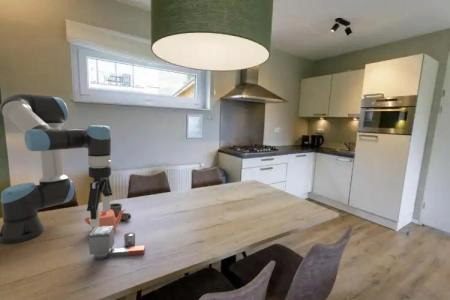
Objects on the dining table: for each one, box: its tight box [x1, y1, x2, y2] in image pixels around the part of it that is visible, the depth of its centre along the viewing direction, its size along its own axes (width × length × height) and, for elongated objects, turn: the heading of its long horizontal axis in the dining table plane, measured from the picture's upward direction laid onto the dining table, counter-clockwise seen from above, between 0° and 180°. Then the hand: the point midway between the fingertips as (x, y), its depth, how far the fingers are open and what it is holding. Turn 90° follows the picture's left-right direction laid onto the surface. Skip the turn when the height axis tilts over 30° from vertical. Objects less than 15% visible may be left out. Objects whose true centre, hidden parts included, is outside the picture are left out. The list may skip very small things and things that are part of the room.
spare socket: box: [123, 231, 136, 248], centre depth 98 cm, size 4×4×5 cm
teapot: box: [84, 208, 127, 233], centre depth 110 cm, size 12×18×10 cm, turn 118°
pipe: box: [110, 202, 132, 221], centre depth 123 cm, size 6×13×8 cm, turn 77°
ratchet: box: [93, 245, 146, 261], centre depth 91 cm, size 19×6×7 cm, turn 102°
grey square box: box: [88, 226, 115, 256], centre depth 90 cm, size 7×7×8 cm
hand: (101, 218), depth 89 cm, fingers open, 13 cm apart
